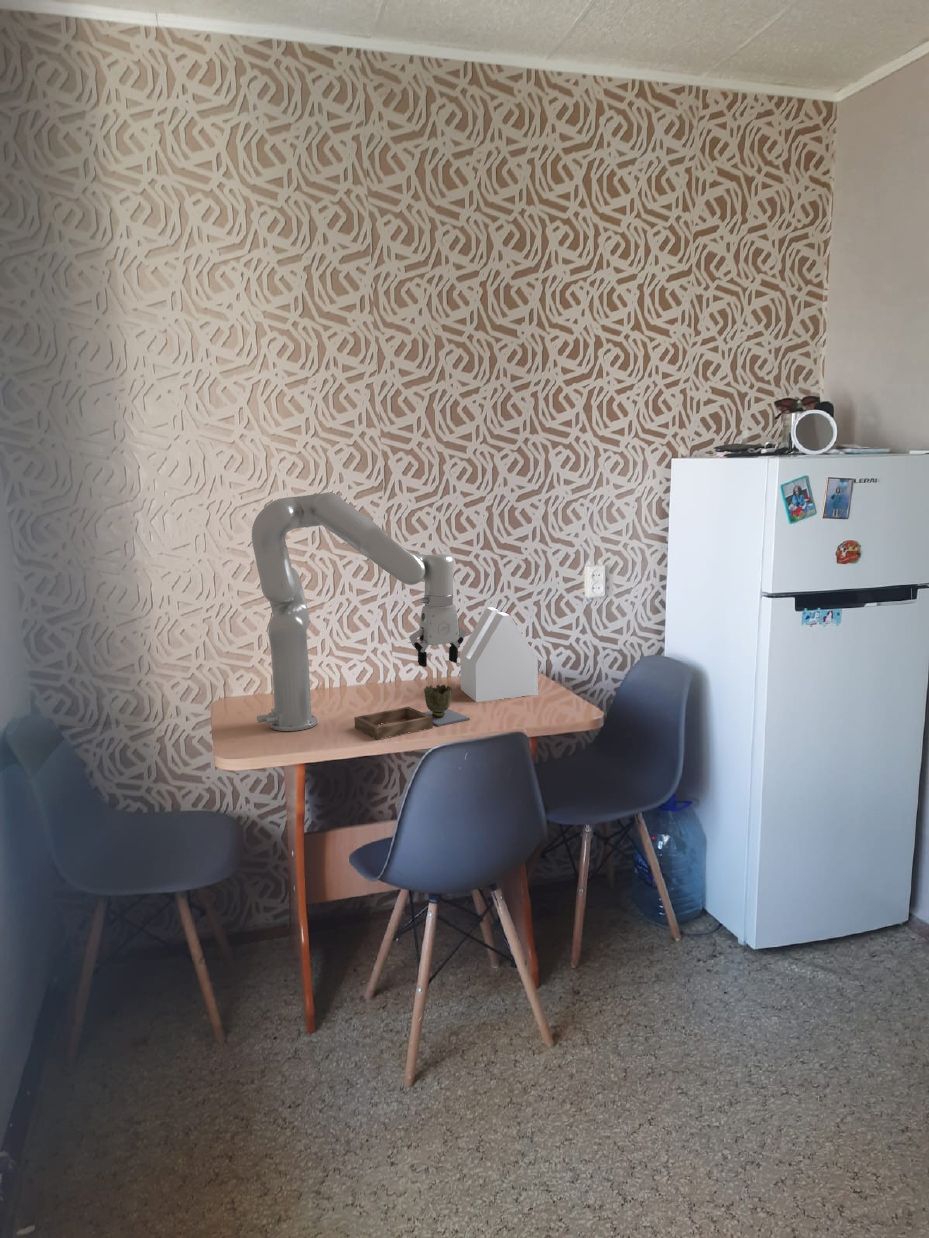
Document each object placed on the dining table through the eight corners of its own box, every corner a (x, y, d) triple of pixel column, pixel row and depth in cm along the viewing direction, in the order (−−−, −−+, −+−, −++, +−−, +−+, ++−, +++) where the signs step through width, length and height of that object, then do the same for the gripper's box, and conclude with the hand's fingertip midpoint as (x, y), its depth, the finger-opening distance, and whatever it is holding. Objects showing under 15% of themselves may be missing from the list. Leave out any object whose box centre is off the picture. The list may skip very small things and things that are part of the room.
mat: (438, 726, 222) (438, 724, 222) (414, 716, 232) (414, 714, 232) (469, 719, 228) (469, 717, 228) (445, 709, 237) (445, 707, 237)
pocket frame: (377, 740, 212) (376, 728, 211) (355, 728, 222) (354, 717, 222) (432, 728, 221) (432, 717, 220) (408, 717, 231) (408, 706, 231)
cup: (428, 721, 225) (427, 692, 223) (421, 714, 232) (421, 685, 230) (455, 718, 227) (454, 690, 225) (448, 711, 234) (447, 683, 232)
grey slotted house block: (476, 702, 245) (474, 617, 241) (460, 689, 259) (459, 609, 255) (537, 696, 250) (537, 613, 246) (519, 683, 265) (518, 605, 261)
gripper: (418, 605, 216) (417, 670, 219) (473, 600, 226) (472, 663, 229) (403, 601, 222) (403, 664, 225) (458, 597, 232) (457, 657, 235)
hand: (438, 663), depth 227 cm, fingers open, 9 cm apart
